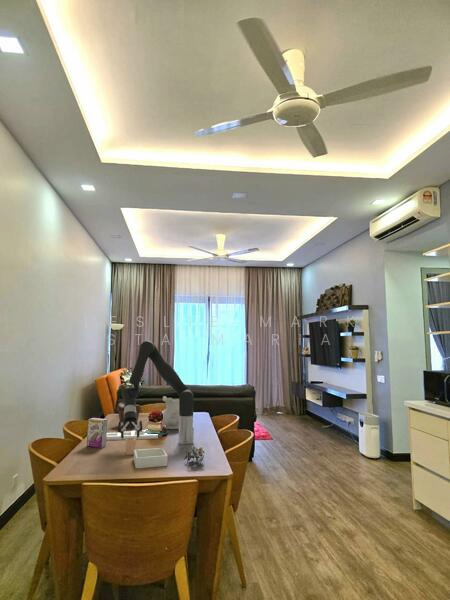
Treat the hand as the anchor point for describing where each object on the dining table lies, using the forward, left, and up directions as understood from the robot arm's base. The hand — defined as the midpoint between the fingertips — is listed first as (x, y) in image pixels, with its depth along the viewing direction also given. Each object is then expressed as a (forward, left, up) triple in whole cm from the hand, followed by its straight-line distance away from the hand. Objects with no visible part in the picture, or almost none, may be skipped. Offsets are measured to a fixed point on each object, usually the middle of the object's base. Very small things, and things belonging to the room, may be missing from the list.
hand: (130, 437), depth 216 cm
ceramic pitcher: (-37, -60, -8) cm, 71 cm away
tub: (0, +3, -8) cm, 9 cm away
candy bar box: (+19, -18, -8) cm, 27 cm away
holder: (+1, -41, -9) cm, 42 cm away
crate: (-9, +23, -8) cm, 26 cm away
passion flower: (-31, +32, -8) cm, 45 cm away
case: (-4, -76, -8) cm, 76 cm away
